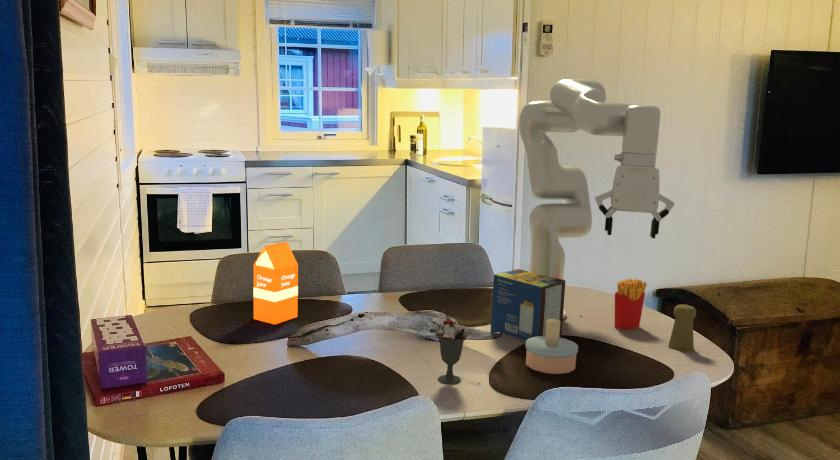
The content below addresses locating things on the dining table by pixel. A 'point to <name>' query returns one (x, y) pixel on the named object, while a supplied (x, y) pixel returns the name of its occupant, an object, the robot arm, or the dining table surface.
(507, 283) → the protein box
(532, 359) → the bowl
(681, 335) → the cork
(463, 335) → the sundae
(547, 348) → the lid
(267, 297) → the orange juice
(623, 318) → the french fries
